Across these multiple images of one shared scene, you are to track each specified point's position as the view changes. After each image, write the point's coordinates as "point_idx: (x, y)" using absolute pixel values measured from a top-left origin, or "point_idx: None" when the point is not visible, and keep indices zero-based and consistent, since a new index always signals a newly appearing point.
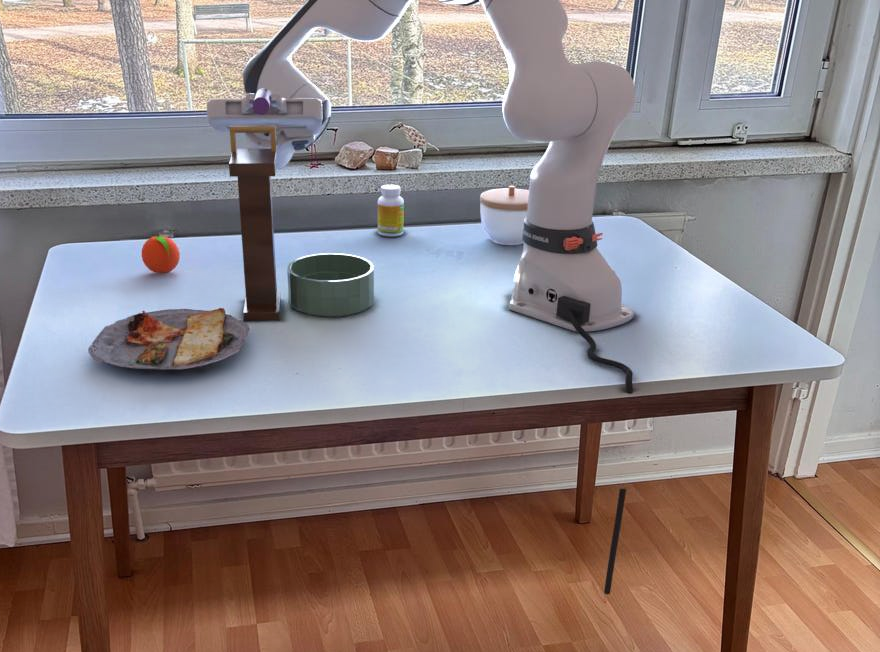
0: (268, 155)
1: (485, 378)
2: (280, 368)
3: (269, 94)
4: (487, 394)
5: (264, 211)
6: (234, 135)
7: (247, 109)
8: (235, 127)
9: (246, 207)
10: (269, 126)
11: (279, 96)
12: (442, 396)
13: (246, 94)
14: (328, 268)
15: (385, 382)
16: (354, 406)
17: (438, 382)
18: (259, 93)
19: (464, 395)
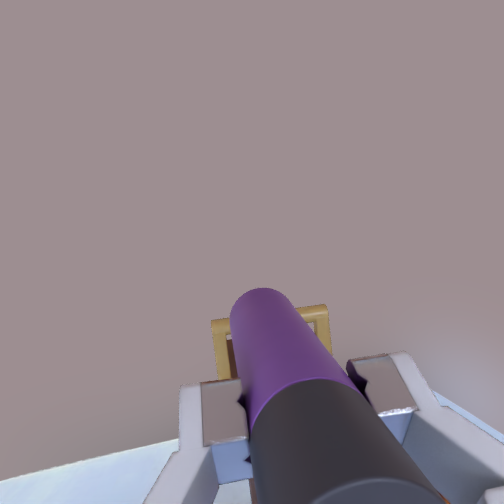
0: (235, 362)
1: (24, 496)
2: (239, 482)
3: (255, 403)
4: (44, 471)
5: None
6: (314, 324)
7: (441, 488)
8: (309, 306)
9: None
10: (225, 318)
11: (179, 441)
12: (88, 463)
13: (398, 352)
14: None
15: (132, 475)
16: (171, 440)
17: (78, 483)
18: (292, 325)
19: (66, 467)
